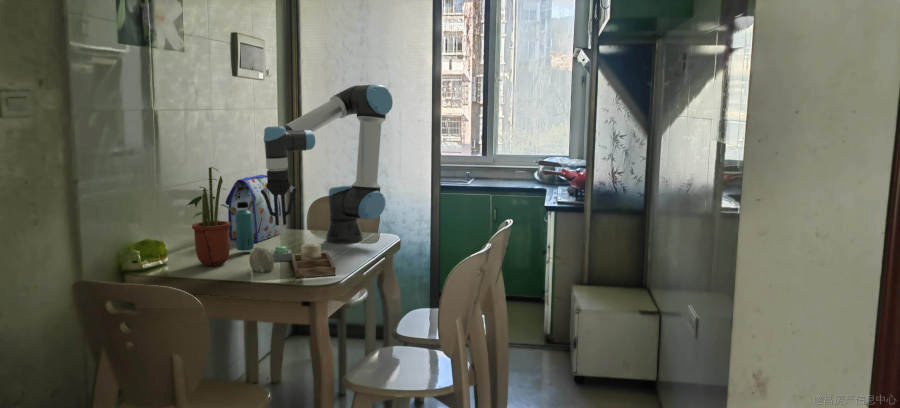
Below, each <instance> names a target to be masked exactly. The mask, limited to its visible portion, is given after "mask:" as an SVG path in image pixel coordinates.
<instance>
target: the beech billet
mask: <svg viewBox="0 0 900 408" xmlns="http://www.w3.org/2000/svg"><path fill="white" fill-rule="evenodd" d="M321 253H322V245H321V244H318V243H316V244H315V243H310V244H309V243H307V244H302V245H300V254H301V261H311V260H321Z"/></svg>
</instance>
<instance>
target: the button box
mask: <svg viewBox="0 0 900 408" xmlns="http://www.w3.org/2000/svg"><path fill="white" fill-rule="evenodd" d="M270 253H271V254H272V256H273V258H274V262H284V261H285V262H286V261H292V255H293V254H292V250H291V249H287V253H278V254H276V251H275V250H270Z"/></svg>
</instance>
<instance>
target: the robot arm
mask: <svg viewBox="0 0 900 408" xmlns="http://www.w3.org/2000/svg"><path fill="white" fill-rule="evenodd" d="M392 108H393V96H392V94H391V92H390V90H389V89H388V88H387V87H386V86H384V85H382V84H381V85H380V84H373V83H372V84H364V85H362V84H361V85H359V84H358V85H353V86H350V87H348V88H346V89H344V90H342V91H340V92H339V93H336V94H335V95H332V96H331V97H330V98H329V100H328V101H327V102H325V103H323V104H321V105H319V106H318V107H315V108H314V109H312V110H310V111H308V112H306V113H304V114H303V115H301V116H299V117H298V118H296V119H293V120H292V121H290V122H289V123H286V124H284V125H283V126H282V125H281V126H280V125H277V126H266V127H265V128H264V132H263V133H264V135H263V143H264V151H265V168H266V169H267V170H266V175H267V185H266V187H265V188H264V189H262V190H261V193H262V195H263V196H264V198H265V201H266V204H267V207H268V210H269V213H270V215H271V216H275V223H276V225H279V235H281V236H282V235H284V234H285V231H284V226H286V225H287V216H288V215H291V213H292V208H293V204H294V203H293V202H294V198H295V194H296V192H298V191H297V190H298V189H297V187H295V186H292V185H291V183H290V180H289V170H288V168H289V165H288V163H289V161H288V153H289V152H302V151H305V152H306V151H309V150H313V149H314V147H315V144H316V135H315V133H314V132H315V131H317V130H319V129H322V128H323V127H324V126H326V125H328V124H330V123H332V122H333V121H335V120H337V119H344V118H346V117H347V116H351V115H356V119H357V120H358V121H359V133H358V149H357V160H356V176H355V181H354V182H353V183H352V184H351V185H342V186H333V187H330V188H329V190H328V207H329V210H328V211H329V225H328V228H327V232H326V236H325V241H326V242H328V243H331V244H352V243H357V242H361V241H363V233H362V229H361V226H360V223H359V219H362V220H371V221H372V220H375V219H377V218H379V217H380V216H381V215H382V214H383V212H384V210H385V209H386V198H385V196H384V194H383V193H382V192H381V186H380V184H379V183H378V175H379V162H380V161H379V160H380V149H381V148H380V147H381V135H382V134H381V133H382V124H383V123H384V121H386V117H387V116H386V115H387V114H388V113H390V110H392ZM267 190H269V191H270V192H271V193H272V194H273V195H274V208H275V212H273V211H272V208H271V205H270V202H269V198H268V195H267V193H268V191H267ZM288 191H290V194H289V197H288V198H289V200H288V205H287V209H286V200H285V199H286V198H285V197H286V196H285V195H286V194H287V192H288ZM277 195H278V196H280V201H281V202H280V205H281V216H278V200H277Z"/></svg>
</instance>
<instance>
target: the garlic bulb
mask: <svg viewBox="0 0 900 408" xmlns="http://www.w3.org/2000/svg"><path fill="white" fill-rule="evenodd" d="M248 259H249V265H250V267H251V269H252V270H253V271H255V272H257V273H268V272H269V273H271V272H273V269H274V267H275V266H274V265H275V264H274V263H275V261H274V258H273V256H272V254H271V251H269V250H268V249H266V248H265V247H262V248H261V247H253V251H251V252H250V255H249V258H248Z"/></svg>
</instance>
